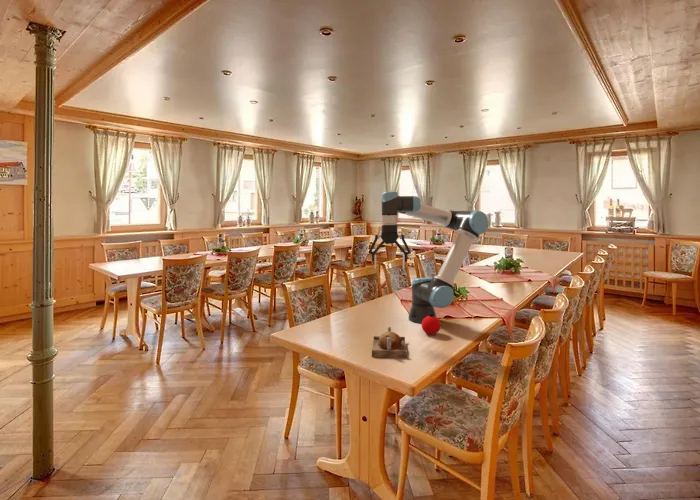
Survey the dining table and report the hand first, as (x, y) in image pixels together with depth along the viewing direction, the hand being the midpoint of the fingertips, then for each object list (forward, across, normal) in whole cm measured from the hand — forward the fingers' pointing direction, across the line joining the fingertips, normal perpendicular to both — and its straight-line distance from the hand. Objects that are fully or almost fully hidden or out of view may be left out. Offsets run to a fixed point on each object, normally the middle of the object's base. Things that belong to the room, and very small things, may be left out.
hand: (389, 268), depth 185 cm
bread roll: (+30, 0, +23) cm, 38 cm away
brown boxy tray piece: (+32, 0, +23) cm, 39 cm away
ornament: (+32, -20, +1) cm, 38 cm away
